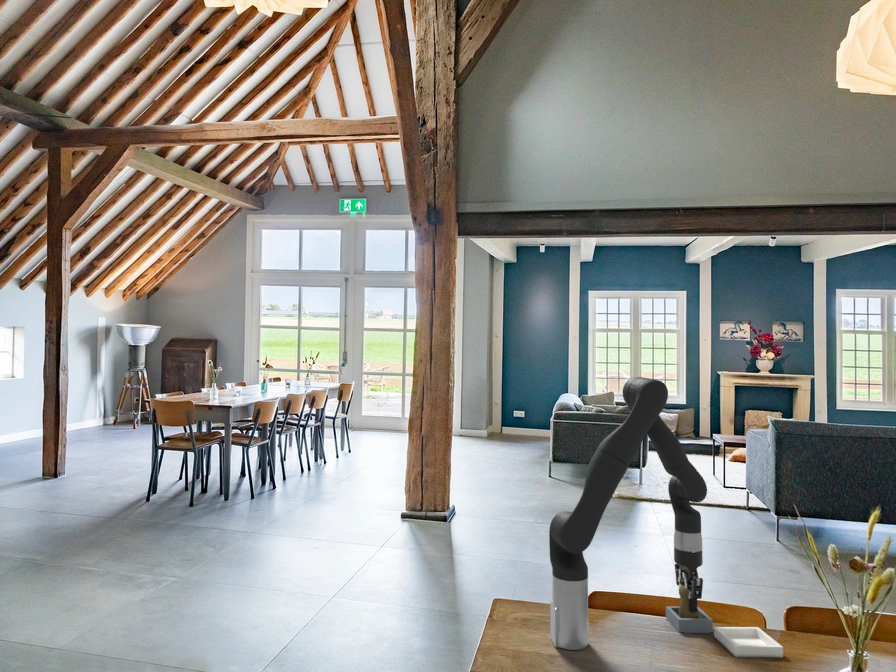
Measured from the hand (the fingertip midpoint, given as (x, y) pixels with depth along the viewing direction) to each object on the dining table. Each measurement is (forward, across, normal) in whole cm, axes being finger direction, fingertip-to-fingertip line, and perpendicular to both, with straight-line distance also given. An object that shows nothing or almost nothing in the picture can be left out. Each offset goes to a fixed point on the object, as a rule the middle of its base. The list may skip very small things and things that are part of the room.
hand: (688, 607), depth 173 cm
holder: (+5, 0, 0) cm, 5 cm away
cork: (+5, 0, 0) cm, 5 cm away
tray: (+5, +13, +10) cm, 17 cm away
